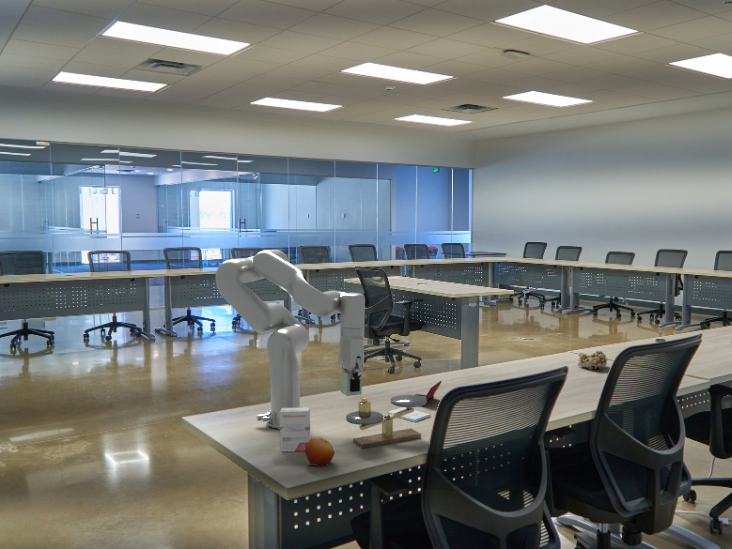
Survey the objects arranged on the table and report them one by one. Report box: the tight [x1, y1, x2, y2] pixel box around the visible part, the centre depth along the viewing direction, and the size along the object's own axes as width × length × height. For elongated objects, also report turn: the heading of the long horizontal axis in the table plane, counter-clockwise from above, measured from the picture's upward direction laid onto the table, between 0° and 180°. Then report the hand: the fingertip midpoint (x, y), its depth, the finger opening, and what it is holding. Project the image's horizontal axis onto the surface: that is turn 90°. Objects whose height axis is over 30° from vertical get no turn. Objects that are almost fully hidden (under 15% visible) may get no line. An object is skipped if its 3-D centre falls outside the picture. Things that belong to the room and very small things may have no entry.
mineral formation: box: [577, 350, 608, 370], centre depth 273 cm, size 8×13×15 cm
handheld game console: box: [414, 380, 442, 407], centre depth 223 cm, size 12×11×7 cm
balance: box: [345, 394, 428, 449], centre depth 182 cm, size 26×11×14 cm, turn 116°
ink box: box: [279, 406, 312, 452], centre depth 176 cm, size 9×5×12 cm, turn 91°
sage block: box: [340, 369, 363, 397], centre depth 191 cm, size 5×5×7 cm
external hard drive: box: [387, 407, 432, 423], centre depth 207 cm, size 2×8×12 cm
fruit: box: [304, 437, 336, 468], centre depth 164 cm, size 8×8×8 cm
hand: (351, 388), depth 191 cm, fingers closed on sage block, 5 cm apart
